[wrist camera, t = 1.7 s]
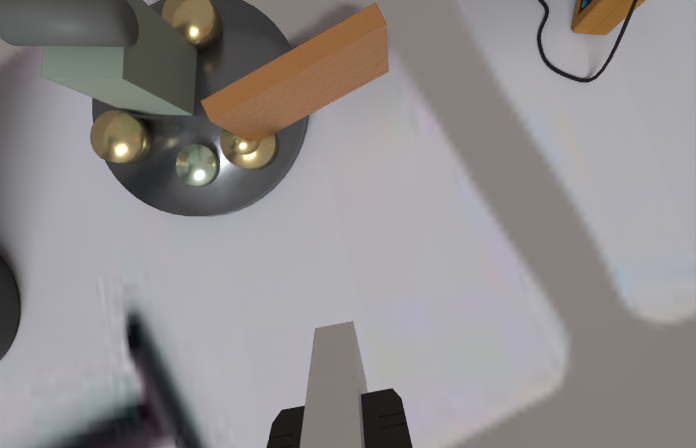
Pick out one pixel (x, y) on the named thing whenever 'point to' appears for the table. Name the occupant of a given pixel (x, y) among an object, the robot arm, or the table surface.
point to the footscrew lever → (297, 87)
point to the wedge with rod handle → (107, 51)
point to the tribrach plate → (198, 118)
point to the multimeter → (595, 24)
